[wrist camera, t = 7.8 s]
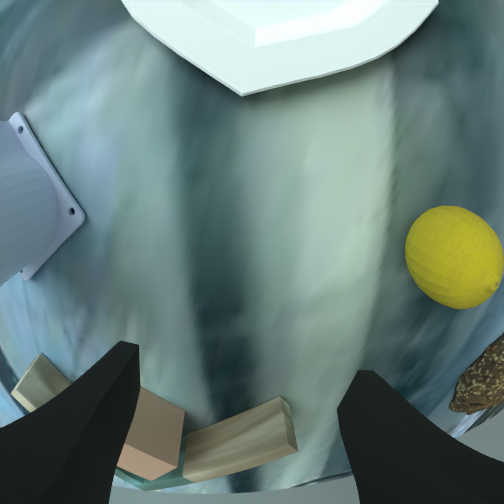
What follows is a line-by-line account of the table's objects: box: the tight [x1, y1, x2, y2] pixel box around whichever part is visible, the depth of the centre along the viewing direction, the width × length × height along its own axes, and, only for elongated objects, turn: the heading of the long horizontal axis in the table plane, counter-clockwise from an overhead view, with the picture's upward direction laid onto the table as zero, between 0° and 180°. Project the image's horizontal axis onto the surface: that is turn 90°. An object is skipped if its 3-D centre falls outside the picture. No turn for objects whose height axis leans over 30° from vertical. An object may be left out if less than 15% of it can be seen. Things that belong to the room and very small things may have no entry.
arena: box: [11, 353, 298, 491], centre depth 19 cm, size 16×17×5 cm
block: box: [117, 386, 185, 481], centre depth 20 cm, size 4×4×6 cm
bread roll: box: [449, 333, 504, 415], centre depth 23 cm, size 13×12×5 cm
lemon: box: [405, 206, 504, 309], centre depth 14 cm, size 6×6×8 cm
